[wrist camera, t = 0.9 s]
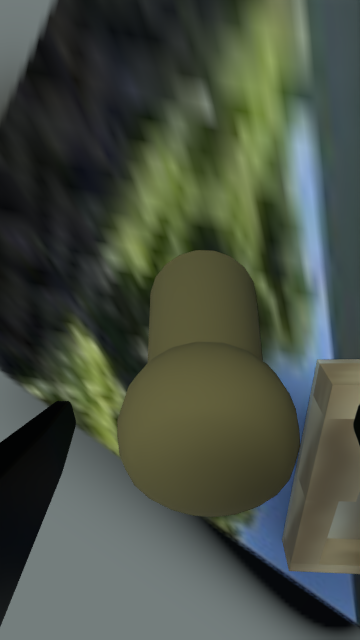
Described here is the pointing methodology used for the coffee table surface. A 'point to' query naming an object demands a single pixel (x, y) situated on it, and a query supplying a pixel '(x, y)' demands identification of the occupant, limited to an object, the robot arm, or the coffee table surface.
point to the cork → (207, 396)
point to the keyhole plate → (327, 476)
